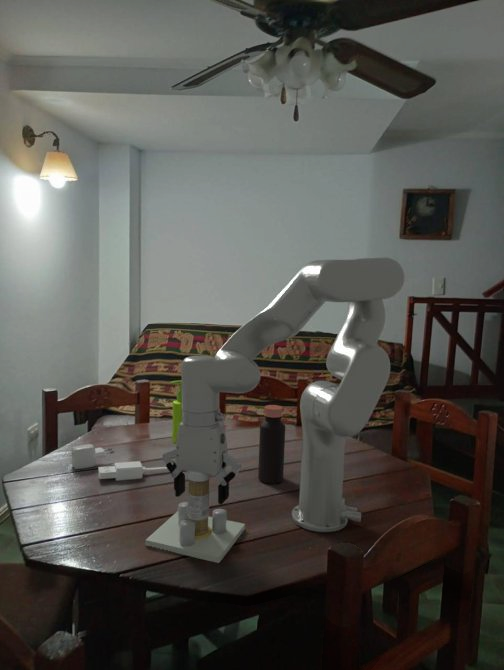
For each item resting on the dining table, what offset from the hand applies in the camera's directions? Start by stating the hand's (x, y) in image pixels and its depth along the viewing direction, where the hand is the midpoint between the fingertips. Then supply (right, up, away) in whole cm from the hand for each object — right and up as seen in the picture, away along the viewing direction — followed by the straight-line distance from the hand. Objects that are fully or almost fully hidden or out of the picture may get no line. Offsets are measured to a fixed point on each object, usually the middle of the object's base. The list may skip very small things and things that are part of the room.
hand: (201, 497), depth 103 cm
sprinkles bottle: (-1, -7, +1) cm, 7 cm away
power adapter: (-34, -3, +38) cm, 51 cm away
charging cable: (-15, -5, +34) cm, 37 cm away
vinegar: (+16, -6, +32) cm, 36 cm away
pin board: (-1, -8, +1) cm, 9 cm away
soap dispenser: (-13, -1, +61) cm, 62 cm away
